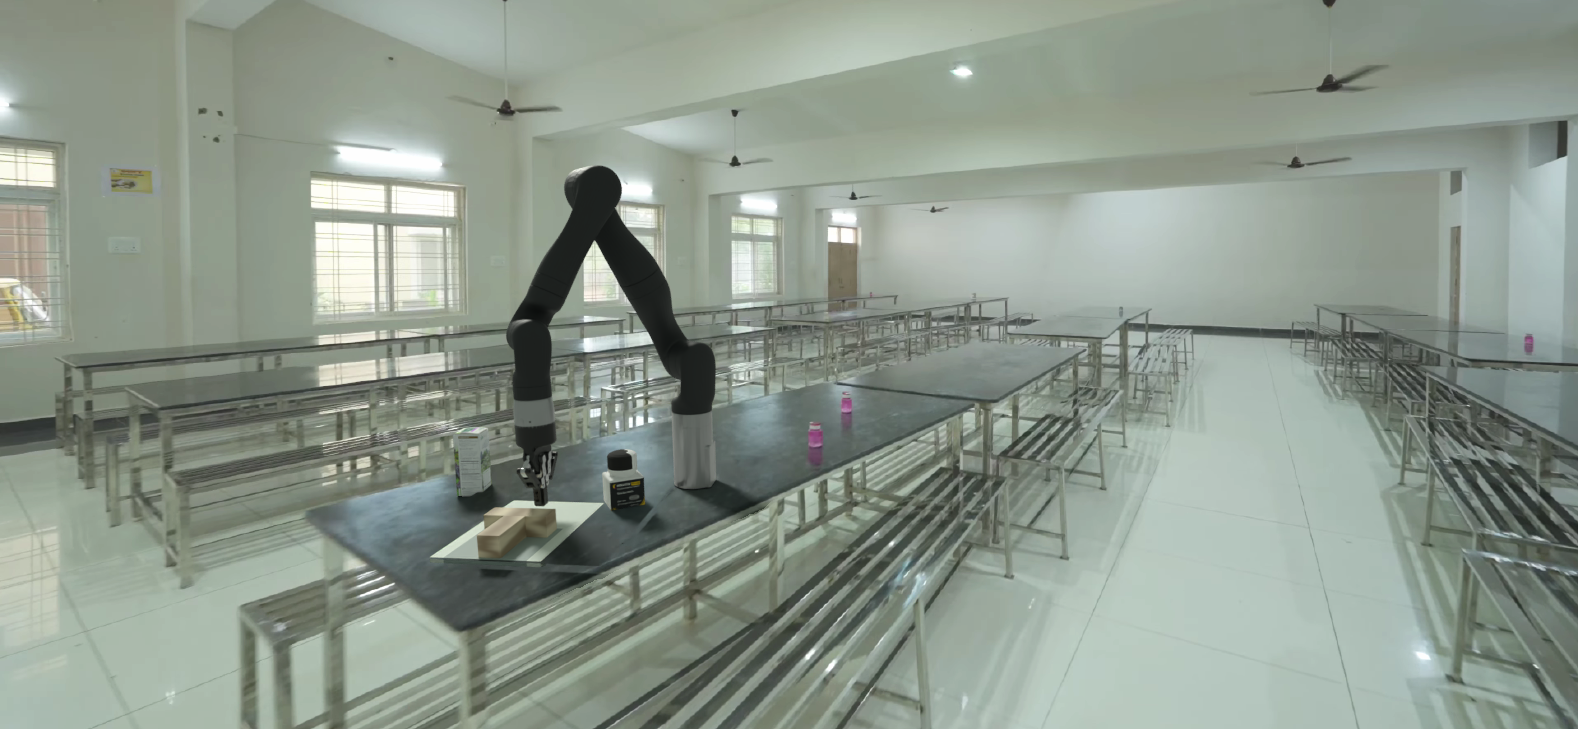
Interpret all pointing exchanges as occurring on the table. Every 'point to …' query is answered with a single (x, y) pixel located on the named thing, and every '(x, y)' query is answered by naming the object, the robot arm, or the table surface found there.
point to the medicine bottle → (623, 480)
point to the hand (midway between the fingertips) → (541, 504)
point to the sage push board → (528, 548)
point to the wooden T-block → (513, 529)
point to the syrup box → (472, 460)
